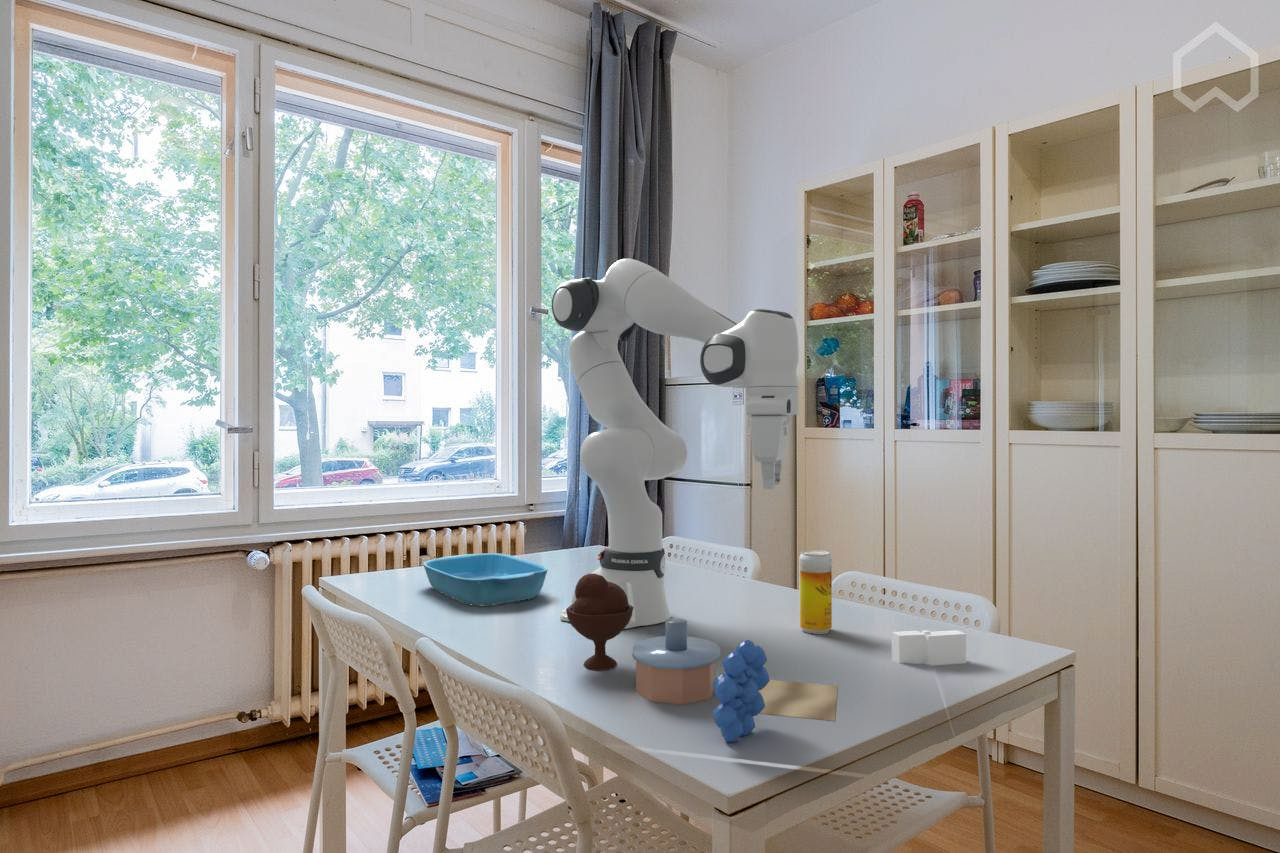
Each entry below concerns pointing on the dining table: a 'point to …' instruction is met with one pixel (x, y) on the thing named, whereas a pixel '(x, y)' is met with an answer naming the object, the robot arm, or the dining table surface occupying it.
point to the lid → (676, 649)
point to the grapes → (740, 690)
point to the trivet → (800, 700)
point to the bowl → (675, 683)
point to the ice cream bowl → (599, 616)
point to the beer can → (815, 591)
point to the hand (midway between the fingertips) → (772, 486)
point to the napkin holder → (929, 647)
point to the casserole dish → (486, 578)
